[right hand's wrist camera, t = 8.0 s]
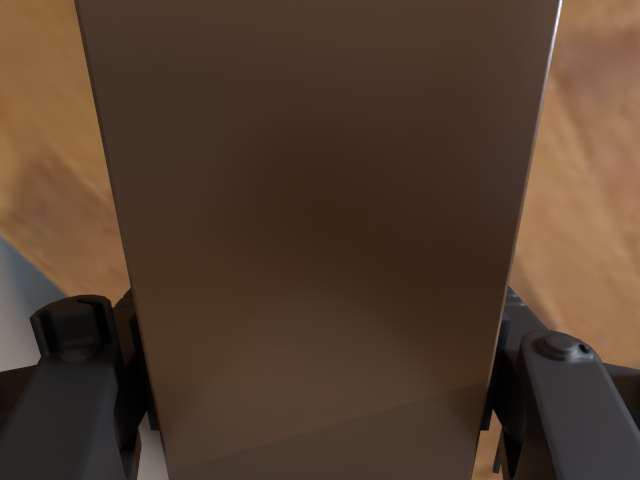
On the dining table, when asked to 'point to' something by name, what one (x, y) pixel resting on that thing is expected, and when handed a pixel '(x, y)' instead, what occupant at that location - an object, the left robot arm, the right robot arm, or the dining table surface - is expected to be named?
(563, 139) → the dining table surface
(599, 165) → the dining table surface
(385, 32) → the beam
